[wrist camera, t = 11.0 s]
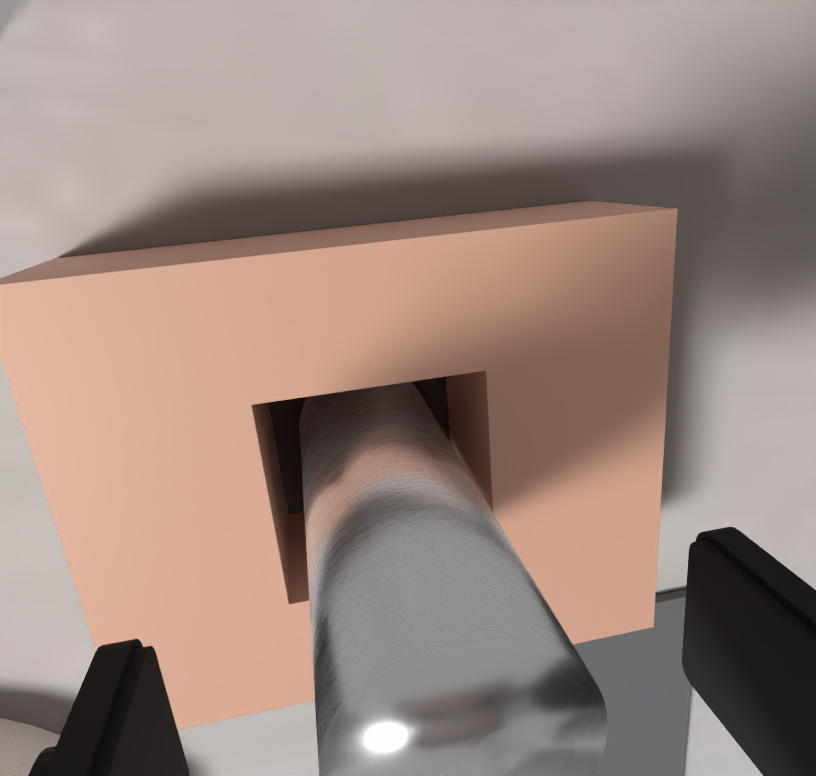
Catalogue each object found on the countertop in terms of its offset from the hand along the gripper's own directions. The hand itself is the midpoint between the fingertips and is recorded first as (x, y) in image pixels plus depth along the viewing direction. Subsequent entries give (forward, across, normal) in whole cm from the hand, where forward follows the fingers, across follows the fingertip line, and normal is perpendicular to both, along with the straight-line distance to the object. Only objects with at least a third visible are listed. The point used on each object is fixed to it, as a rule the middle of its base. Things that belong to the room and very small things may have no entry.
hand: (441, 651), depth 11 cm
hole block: (+10, 0, 0) cm, 10 cm away
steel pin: (+10, 0, 0) cm, 10 cm away
